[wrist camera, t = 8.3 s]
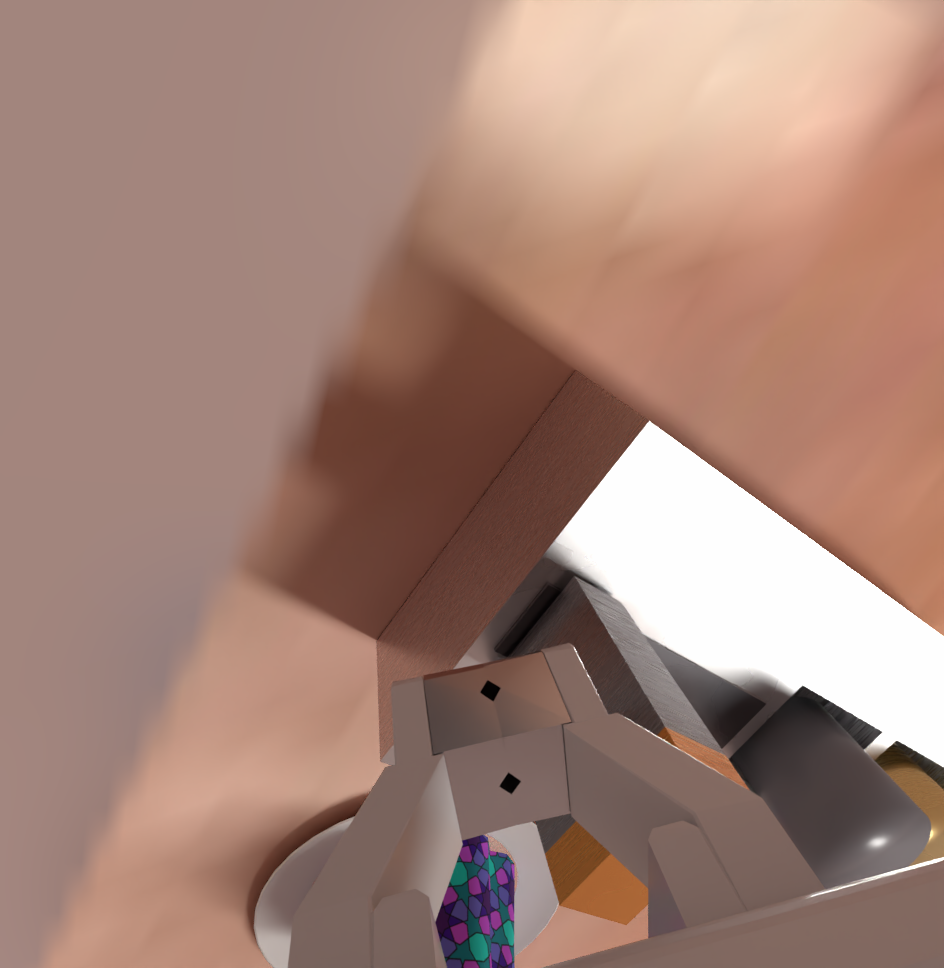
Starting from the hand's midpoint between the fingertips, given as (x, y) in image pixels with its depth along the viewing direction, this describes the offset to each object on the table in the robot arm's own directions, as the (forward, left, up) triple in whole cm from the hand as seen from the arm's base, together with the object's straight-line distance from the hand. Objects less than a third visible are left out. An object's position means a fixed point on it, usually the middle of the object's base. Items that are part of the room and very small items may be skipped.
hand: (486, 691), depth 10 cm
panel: (0, -11, -8) cm, 13 cm away
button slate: (0, -12, -4) cm, 12 cm away
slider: (0, -3, -3) cm, 4 cm away
